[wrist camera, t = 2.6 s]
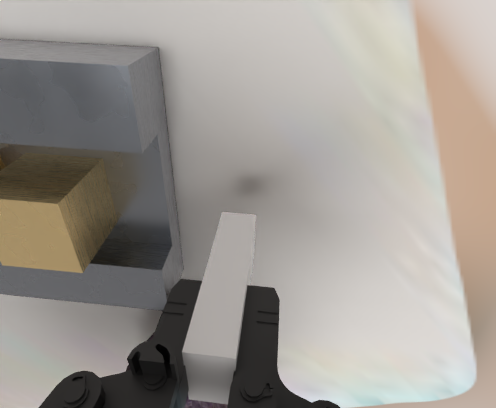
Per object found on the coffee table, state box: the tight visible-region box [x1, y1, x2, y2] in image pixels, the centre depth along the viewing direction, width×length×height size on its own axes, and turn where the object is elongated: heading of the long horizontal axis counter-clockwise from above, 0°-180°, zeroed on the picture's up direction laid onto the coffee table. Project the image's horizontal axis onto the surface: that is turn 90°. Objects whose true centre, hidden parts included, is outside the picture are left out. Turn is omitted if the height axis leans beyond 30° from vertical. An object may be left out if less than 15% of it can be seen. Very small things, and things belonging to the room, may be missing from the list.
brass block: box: [0, 153, 118, 273], centre depth 16 cm, size 4×4×4 cm
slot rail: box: [0, 39, 183, 311], centre depth 18 cm, size 15×14×4 cm
